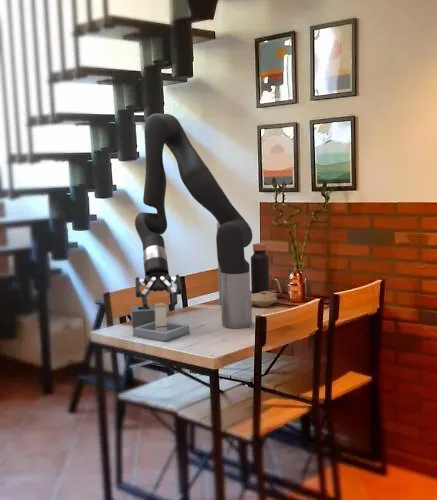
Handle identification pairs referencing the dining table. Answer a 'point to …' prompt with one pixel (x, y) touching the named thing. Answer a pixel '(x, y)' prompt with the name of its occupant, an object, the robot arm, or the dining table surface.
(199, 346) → the dining table surface
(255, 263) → the bottle
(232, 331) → the dining table surface
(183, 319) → the dining table surface
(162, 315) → the block
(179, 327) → the tray
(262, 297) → the pottery oil lamp
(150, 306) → the panel
